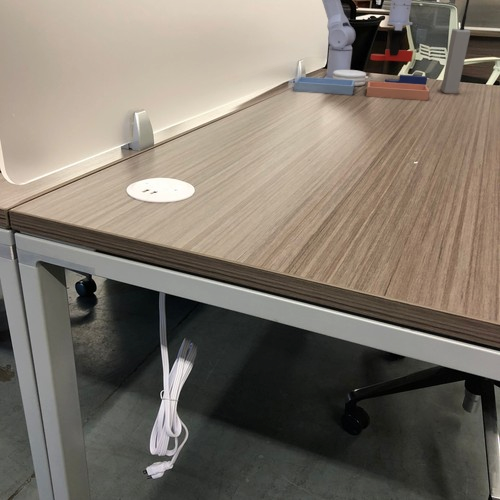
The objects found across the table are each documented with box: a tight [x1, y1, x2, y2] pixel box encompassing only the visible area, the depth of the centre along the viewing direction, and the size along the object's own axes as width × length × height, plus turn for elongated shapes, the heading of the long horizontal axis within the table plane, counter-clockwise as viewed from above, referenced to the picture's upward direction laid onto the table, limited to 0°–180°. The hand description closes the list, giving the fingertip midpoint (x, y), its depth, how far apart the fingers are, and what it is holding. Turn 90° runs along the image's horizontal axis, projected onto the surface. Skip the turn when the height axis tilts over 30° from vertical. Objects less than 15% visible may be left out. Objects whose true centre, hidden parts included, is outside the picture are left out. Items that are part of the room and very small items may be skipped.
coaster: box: [333, 69, 367, 87], centre depth 154 cm, size 10×10×4 cm
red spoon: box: [370, 48, 414, 63], centre depth 153 cm, size 12×4×3 cm, turn 77°
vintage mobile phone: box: [439, 0, 471, 95], centre depth 141 cm, size 4×5×25 cm
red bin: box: [366, 80, 430, 101], centre depth 140 cm, size 10×16×2 cm, turn 77°
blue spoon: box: [384, 74, 428, 85], centre depth 154 cm, size 12×4×3 cm, turn 77°
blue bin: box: [293, 76, 355, 96], centre depth 144 cm, size 10×16×2 cm, turn 77°
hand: (393, 54), depth 153 cm, fingers closed on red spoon
